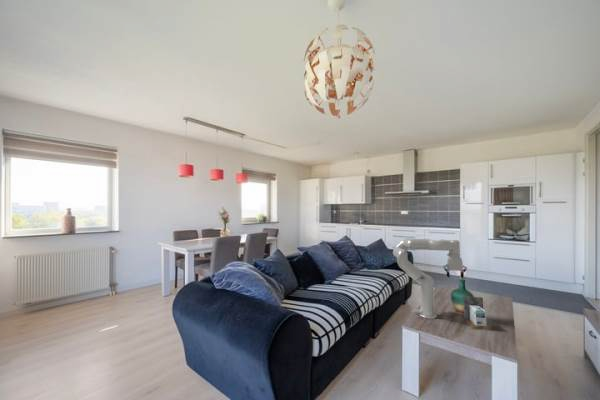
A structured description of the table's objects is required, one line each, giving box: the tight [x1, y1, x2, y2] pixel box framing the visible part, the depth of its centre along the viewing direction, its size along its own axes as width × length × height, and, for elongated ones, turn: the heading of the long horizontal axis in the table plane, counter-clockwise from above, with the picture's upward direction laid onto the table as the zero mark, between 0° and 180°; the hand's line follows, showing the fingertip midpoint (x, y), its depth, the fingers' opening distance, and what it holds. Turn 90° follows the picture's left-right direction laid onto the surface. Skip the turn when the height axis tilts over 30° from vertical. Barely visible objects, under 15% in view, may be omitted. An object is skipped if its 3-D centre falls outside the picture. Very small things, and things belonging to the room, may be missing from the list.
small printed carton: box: [463, 295, 493, 331], centre depth 183 cm, size 12×14×18 cm
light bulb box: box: [469, 305, 487, 326], centre depth 182 cm, size 11×7×11 cm, turn 168°
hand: (455, 277), depth 200 cm, fingers open, 9 cm apart
